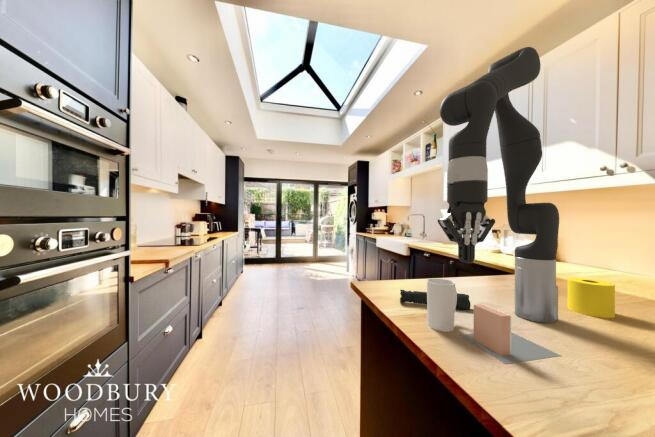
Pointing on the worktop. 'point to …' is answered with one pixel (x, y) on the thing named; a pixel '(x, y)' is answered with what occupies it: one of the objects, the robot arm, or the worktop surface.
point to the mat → (516, 350)
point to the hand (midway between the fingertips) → (466, 262)
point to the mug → (441, 304)
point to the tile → (492, 329)
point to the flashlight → (421, 298)
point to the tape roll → (591, 297)
